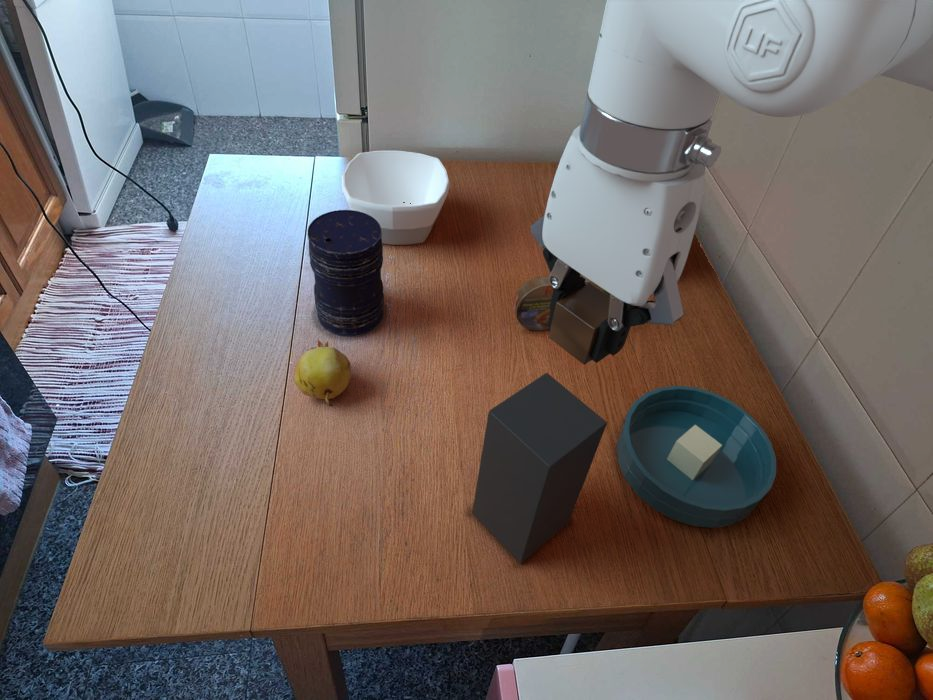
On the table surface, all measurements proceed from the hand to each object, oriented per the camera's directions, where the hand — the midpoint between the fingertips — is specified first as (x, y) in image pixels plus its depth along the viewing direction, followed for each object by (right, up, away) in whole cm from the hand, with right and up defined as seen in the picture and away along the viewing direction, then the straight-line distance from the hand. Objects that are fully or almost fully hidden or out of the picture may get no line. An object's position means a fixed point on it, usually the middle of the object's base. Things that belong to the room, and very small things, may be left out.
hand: (583, 335), depth 53 cm
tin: (+4, +3, +45) cm, 45 cm away
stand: (-3, -21, +21) cm, 30 cm away
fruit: (-29, -7, +32) cm, 43 cm away
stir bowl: (+18, -16, +28) cm, 37 cm away
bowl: (-22, +20, +59) cm, 66 cm away
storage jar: (-27, +4, +42) cm, 50 cm away
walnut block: (0, 0, 0) cm, 1 cm away
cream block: (+18, -15, +28) cm, 37 cm away
